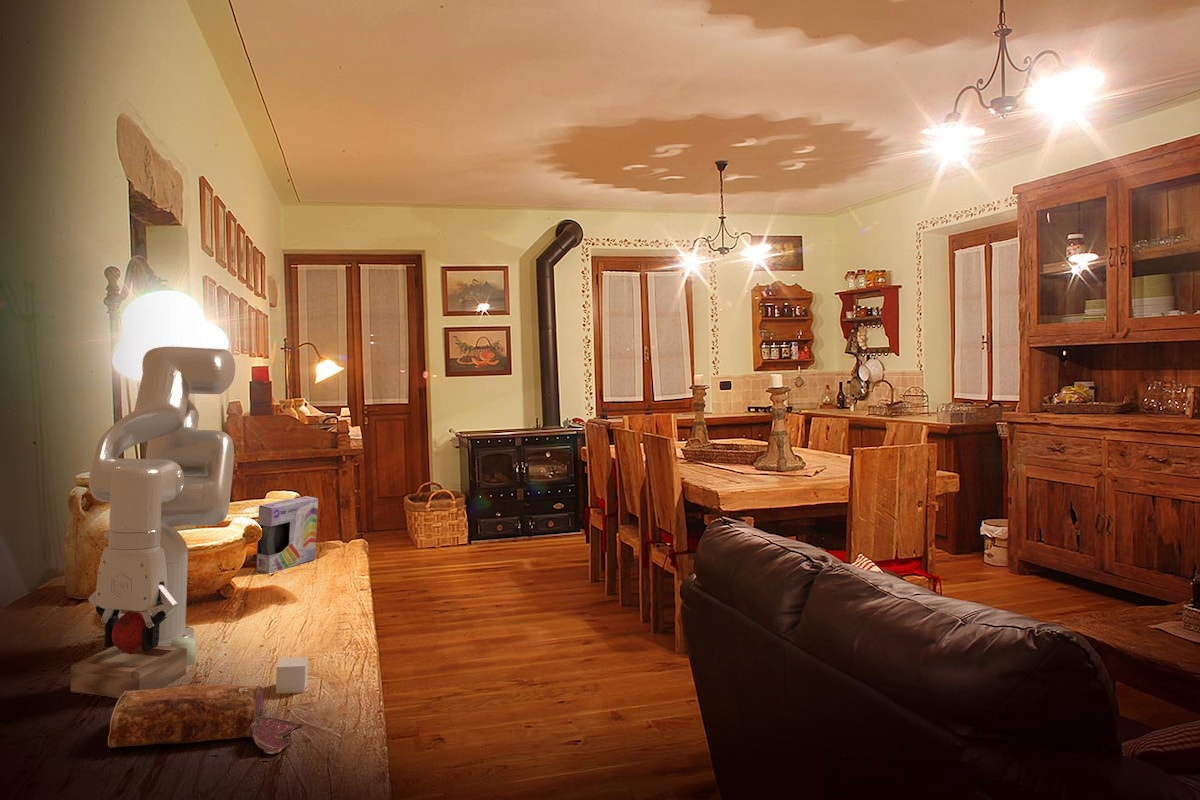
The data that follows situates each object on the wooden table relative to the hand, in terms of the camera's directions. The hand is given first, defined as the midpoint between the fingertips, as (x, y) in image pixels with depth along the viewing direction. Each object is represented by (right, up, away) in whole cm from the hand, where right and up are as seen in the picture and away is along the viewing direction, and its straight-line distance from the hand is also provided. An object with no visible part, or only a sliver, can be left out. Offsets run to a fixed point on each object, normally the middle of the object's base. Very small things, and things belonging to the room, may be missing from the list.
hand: (131, 646), depth 140 cm
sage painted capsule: (+3, -6, +11) cm, 13 cm away
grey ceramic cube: (+26, -8, +2) cm, 27 cm away
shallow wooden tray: (0, -6, 0) cm, 6 cm away
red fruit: (0, -2, 0) cm, 2 cm away
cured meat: (+21, -8, -17) cm, 28 cm away
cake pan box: (-6, -4, +85) cm, 85 cm away
